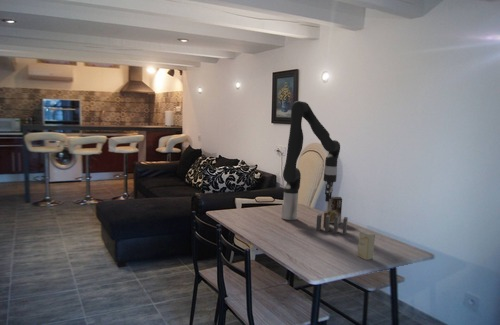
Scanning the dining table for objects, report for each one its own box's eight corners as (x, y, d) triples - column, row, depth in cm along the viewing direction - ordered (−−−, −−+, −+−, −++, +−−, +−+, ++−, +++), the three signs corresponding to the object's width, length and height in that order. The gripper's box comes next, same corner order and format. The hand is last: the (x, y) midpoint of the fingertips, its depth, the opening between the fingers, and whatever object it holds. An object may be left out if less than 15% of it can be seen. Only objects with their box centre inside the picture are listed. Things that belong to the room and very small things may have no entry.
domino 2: (323, 227, 233) (324, 212, 232) (324, 225, 238) (325, 211, 237) (326, 227, 232) (327, 213, 231) (327, 225, 237) (328, 211, 236)
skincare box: (356, 255, 184) (358, 230, 183) (364, 254, 186) (366, 230, 185) (366, 260, 179) (368, 234, 177) (373, 259, 181) (375, 233, 179)
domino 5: (342, 234, 220) (343, 218, 219) (343, 232, 224) (344, 216, 224) (345, 234, 219) (346, 219, 218) (346, 232, 224) (347, 217, 223)
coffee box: (339, 221, 249) (341, 196, 248) (340, 223, 243) (342, 198, 241) (325, 220, 250) (326, 195, 249) (326, 222, 244) (327, 197, 242)
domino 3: (324, 231, 223) (325, 216, 222) (326, 229, 228) (327, 214, 227) (327, 232, 223) (328, 217, 222) (329, 230, 227) (330, 215, 226)
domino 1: (316, 230, 225) (317, 215, 224) (317, 228, 230) (318, 213, 229) (319, 231, 224) (320, 215, 223) (320, 229, 229) (321, 214, 228)
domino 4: (333, 233, 222) (334, 217, 221) (334, 230, 226) (335, 215, 225) (336, 233, 221) (337, 218, 220) (337, 231, 226) (338, 216, 225)
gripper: (325, 171, 240) (323, 197, 242) (322, 174, 226) (320, 201, 228) (338, 172, 237) (336, 198, 239) (335, 175, 224) (332, 203, 226)
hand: (328, 200), depth 234 cm, fingers open, 8 cm apart
